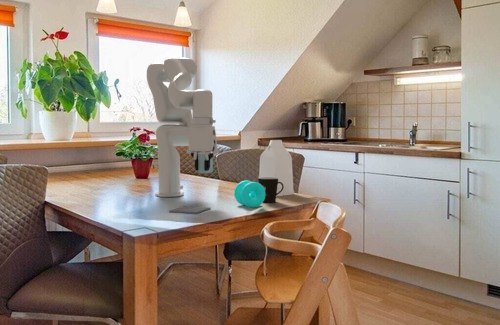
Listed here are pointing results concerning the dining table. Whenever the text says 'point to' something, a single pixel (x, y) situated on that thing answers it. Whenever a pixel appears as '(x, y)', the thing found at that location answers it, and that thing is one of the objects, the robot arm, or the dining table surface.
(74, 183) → the dining table surface
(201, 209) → the mat
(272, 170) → the milk
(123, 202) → the dining table surface
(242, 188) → the teal spool
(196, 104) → the robot arm
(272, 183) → the coffee mug
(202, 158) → the slab
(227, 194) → the dining table surface
